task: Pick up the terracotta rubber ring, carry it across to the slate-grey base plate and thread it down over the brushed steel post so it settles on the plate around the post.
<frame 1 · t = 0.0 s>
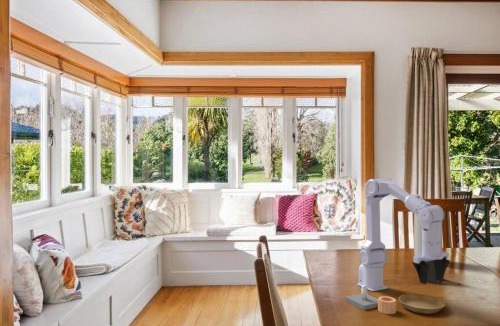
hand: (431, 281, 136), 10 cm above the table, tool pointing down, fingers open, 7 cm apart
ring: (387, 310, 137), on the table
plant saucer: (421, 308, 140), on the table
post base: (364, 303, 145), on the table
cylinder vase: (428, 262, 200), on the table
phone stand: (433, 280, 171), on the table
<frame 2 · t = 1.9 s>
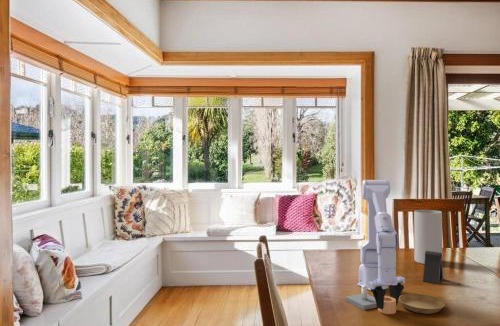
hand: (387, 306, 137), 1 cm above the table, tool pointing down, fingers closed on ring, 6 cm apart
ring: (387, 310, 137), on the table, touching gripper
everything else where it was.
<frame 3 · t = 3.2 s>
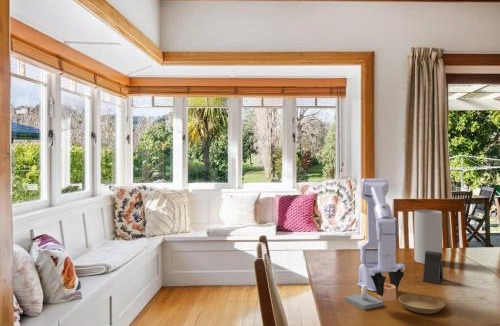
hand: (386, 293, 137), 6 cm above the table, tool pointing down, fingers closed on ring, 6 cm apart
ring: (387, 297, 137), point 4 cm above the table, touching gripper
everything else where it was.
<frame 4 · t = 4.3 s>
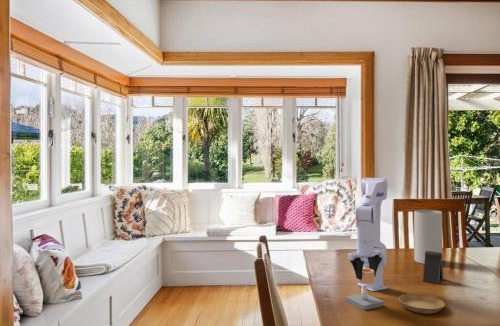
hand: (365, 277, 144), 9 cm above the table, tool pointing down, fingers closed on ring, 6 cm apart
ring: (365, 281, 144), point 8 cm above the table, touching gripper
everything else where it was.
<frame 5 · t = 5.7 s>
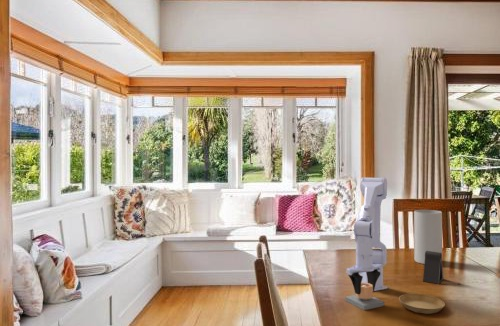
hand: (364, 292, 145), 4 cm above the table, tool pointing down, fingers closed on ring, 6 cm apart
ring: (364, 296, 145), point 3 cm above the table, touching gripper
everything else where it was.
when the fingers open (4 cm above the table, at t = 7.0 s): ring moves 1 cm, resting on post base.
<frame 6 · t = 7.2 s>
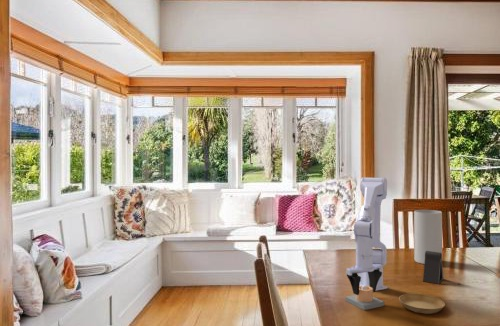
hand: (364, 292, 145), 4 cm above the table, tool pointing down, fingers open, 7 cm apart
ring: (364, 299, 145), point 1 cm above the table, touching post base
everything else where it was.
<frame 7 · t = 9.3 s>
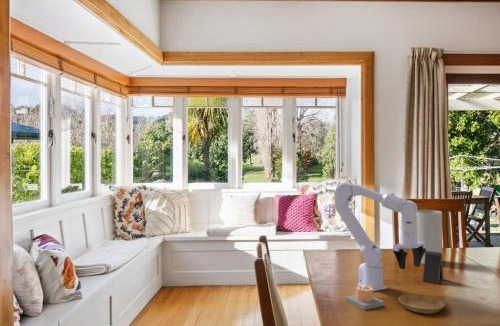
hand: (409, 267, 156), 9 cm above the table, tool pointing down, fingers open, 7 cm apart
nothing on the table moved.
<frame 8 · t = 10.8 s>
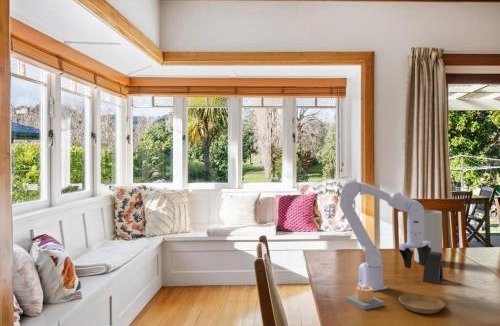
hand: (415, 266, 158), 9 cm above the table, tool pointing down, fingers open, 7 cm apart
nothing on the table moved.
at the end: ring 0.1 cm off-centre on the post base, point 1.5 cm above the post base's base; the gripper is holding nothing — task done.
